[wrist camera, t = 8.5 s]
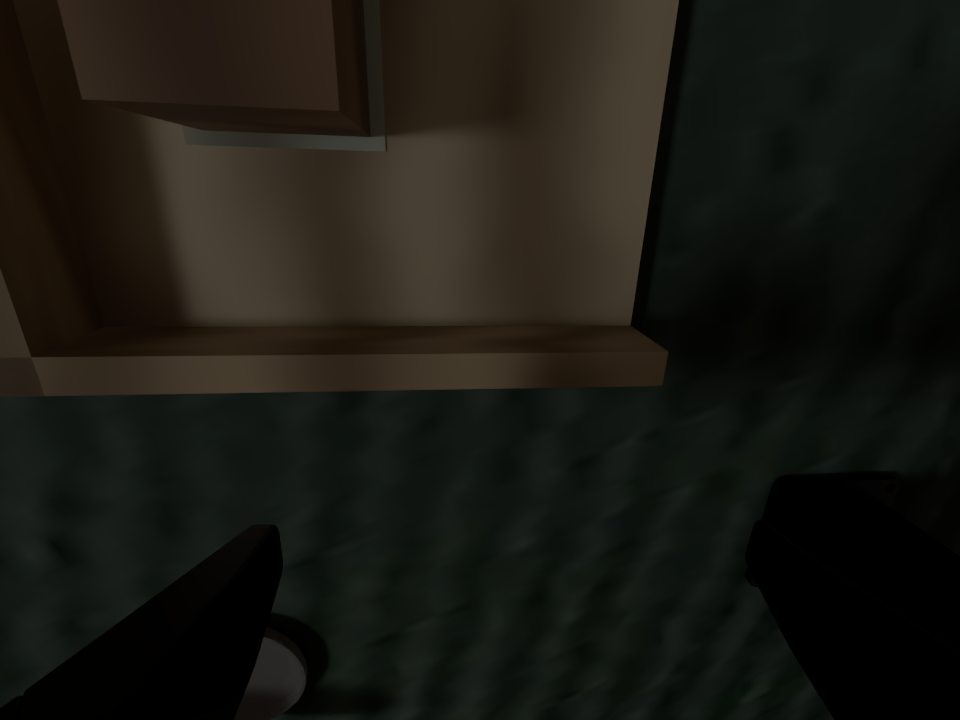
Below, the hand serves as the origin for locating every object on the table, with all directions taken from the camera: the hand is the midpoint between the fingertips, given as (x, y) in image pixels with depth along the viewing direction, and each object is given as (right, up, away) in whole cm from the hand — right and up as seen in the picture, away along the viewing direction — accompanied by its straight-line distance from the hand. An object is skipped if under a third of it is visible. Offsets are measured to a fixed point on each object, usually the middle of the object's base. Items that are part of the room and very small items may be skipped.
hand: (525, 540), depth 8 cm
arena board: (-5, +11, +6) cm, 14 cm away
